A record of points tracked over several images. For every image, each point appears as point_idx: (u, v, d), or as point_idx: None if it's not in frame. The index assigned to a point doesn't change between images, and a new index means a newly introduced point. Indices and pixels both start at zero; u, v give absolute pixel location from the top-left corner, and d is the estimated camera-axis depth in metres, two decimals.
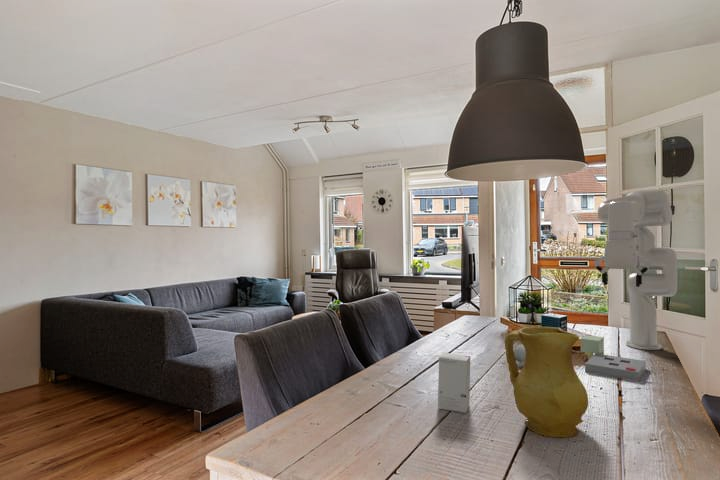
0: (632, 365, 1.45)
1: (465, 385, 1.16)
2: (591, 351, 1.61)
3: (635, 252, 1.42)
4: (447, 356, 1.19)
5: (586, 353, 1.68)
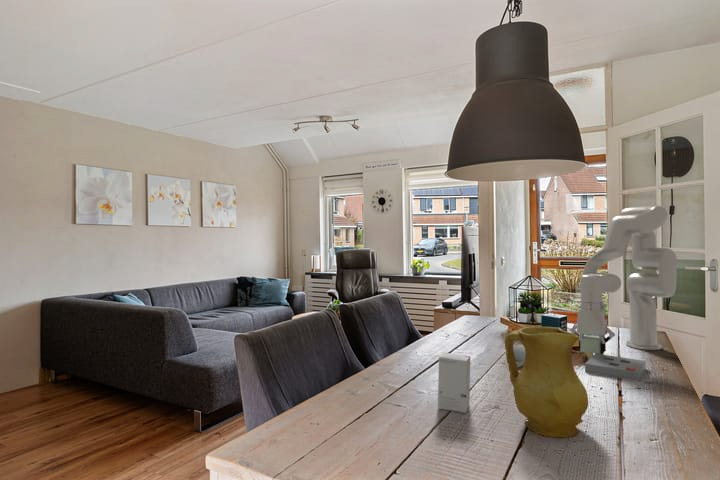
0: (632, 365, 1.45)
1: (465, 385, 1.16)
2: (591, 351, 1.61)
3: (603, 322, 1.60)
4: (447, 356, 1.19)
5: (586, 353, 1.68)
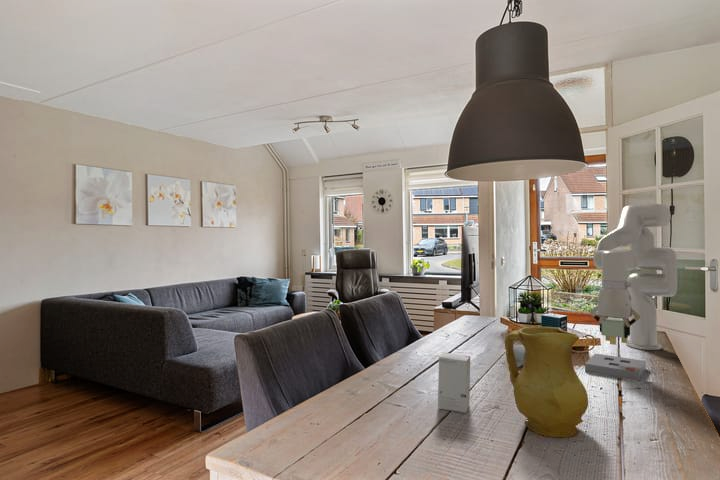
0: (632, 365, 1.45)
1: (465, 385, 1.16)
2: (614, 335, 1.45)
3: (628, 302, 1.44)
4: (447, 356, 1.19)
5: (607, 338, 1.52)
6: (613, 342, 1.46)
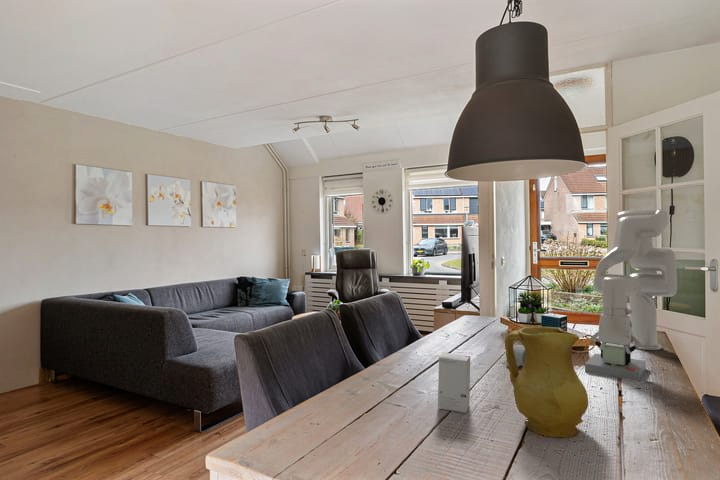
0: (632, 365, 1.45)
1: (465, 385, 1.16)
2: (615, 362, 1.45)
3: (628, 329, 1.45)
4: (447, 356, 1.19)
5: None
6: None
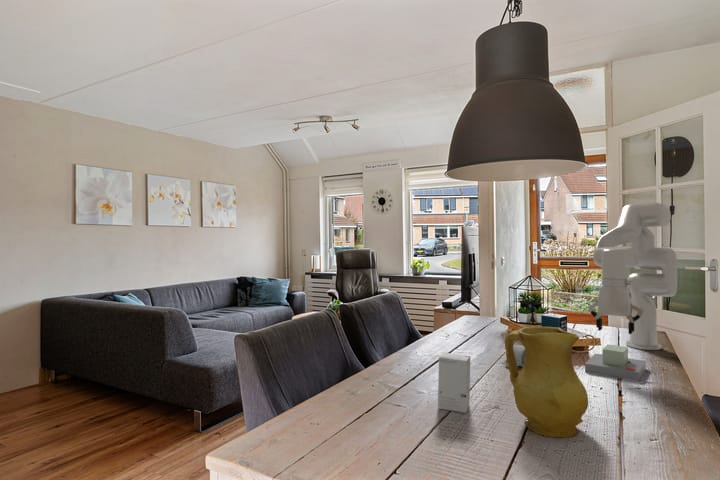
0: (632, 365, 1.45)
1: (465, 385, 1.16)
2: (615, 363, 1.46)
3: (628, 300, 1.45)
4: (447, 356, 1.19)
5: None
6: None
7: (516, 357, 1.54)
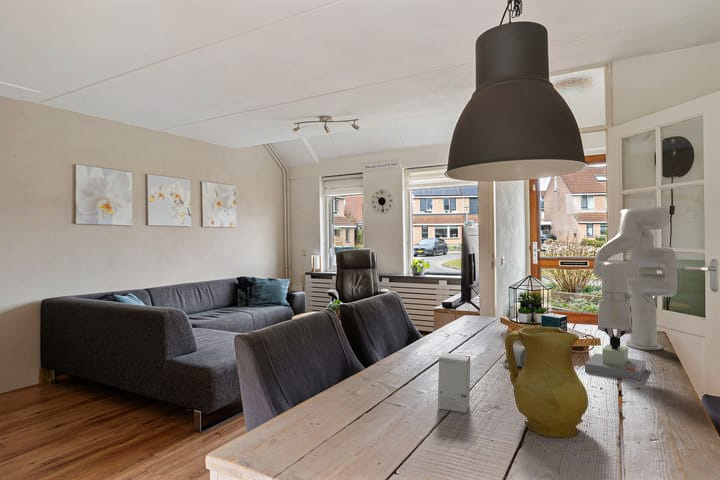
0: (632, 365, 1.45)
1: (465, 385, 1.16)
2: (615, 363, 1.46)
3: (628, 314, 1.45)
4: (447, 356, 1.19)
5: None
6: None
7: (515, 357, 1.54)
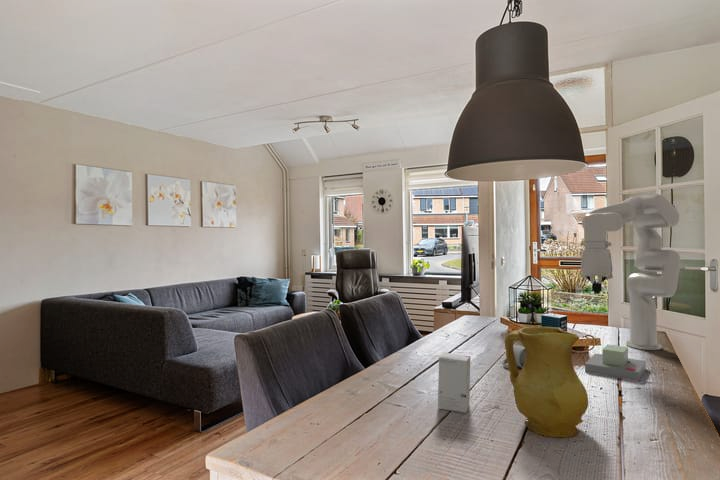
0: (632, 365, 1.45)
1: (465, 385, 1.16)
2: (615, 363, 1.46)
3: (608, 260, 1.56)
4: (447, 356, 1.19)
5: None
6: None
7: None
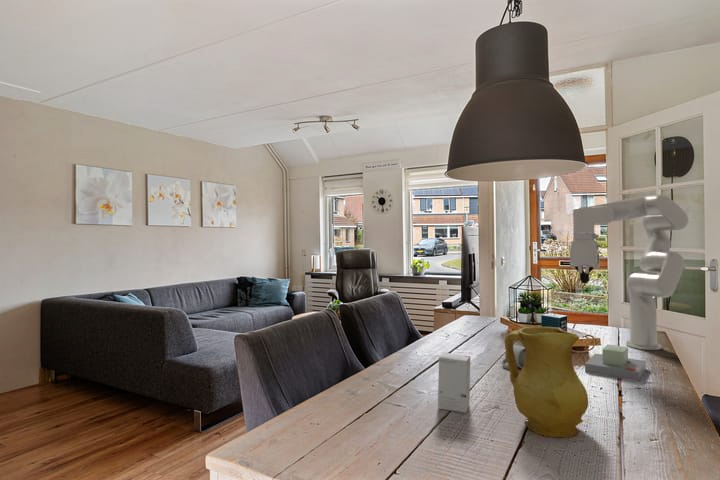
0: (632, 365, 1.45)
1: (465, 385, 1.16)
2: (615, 363, 1.46)
3: (595, 251, 1.64)
4: (447, 356, 1.19)
5: None
6: None
7: None
